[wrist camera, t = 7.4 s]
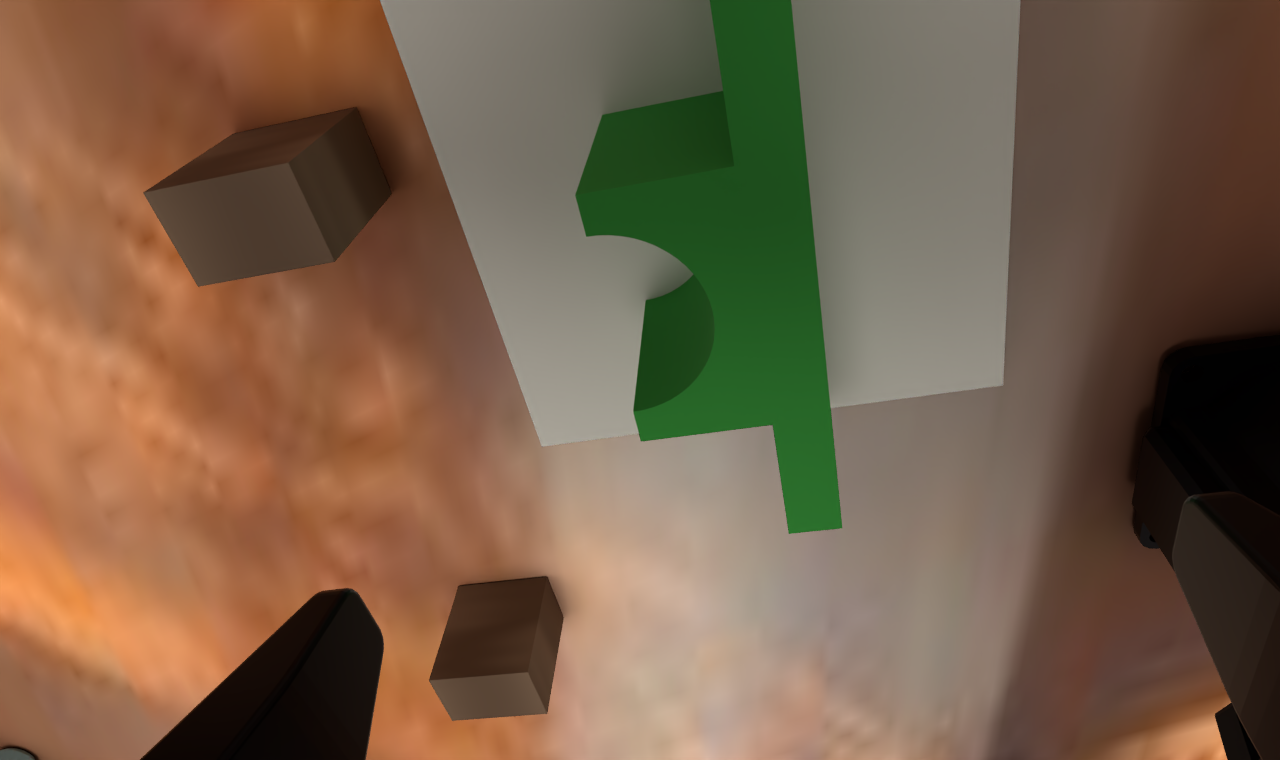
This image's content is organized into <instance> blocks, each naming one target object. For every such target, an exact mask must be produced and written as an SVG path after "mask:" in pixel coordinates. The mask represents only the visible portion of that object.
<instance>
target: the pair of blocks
mask: <svg viewBox="0 0 1280 760" xmlns="http://www.w3.org/2000/svg"><path fill="white" fill-rule="evenodd" d="M391 194H392V193H391V191H390V189H389V186H388V184H387V181H386V179H385V176H384V174H383V171H382V169H381V166H380V164H379V161H378V159H377V157H376V154H375V152H374V149H373V147H372V144H371V142H370V139H369V137H368V134H367V132H366V129H365V127H364V124H363V122H362V120H361V117H360V115H359V112H358V110H357V107H355V108H350V109H346V110H341V111H336V112H332V113H327V114H323V115H318V116H313V117H309V118H304V119H299V120H295V121H290V122H286V123H281V124H276V125H272V126H267V127H263V128H258V129H253V130H249V131H244V132H239V133H235V134H232V135H231V136H229V137H228V138H226V139H224V140H223V141H221V142H220V143H218V144H217V145H215V146H214V147H212V148H211V149H209V150H208V151H206V152H205V153H203V154H202V155H200V156H199V157H197V158H195V159H194V160H192V161H191V162H189V163H188V164H186V165H185V166H183V167H182V168H180V169H179V170H177V171H176V172H174V173H173V174H171V175H170V176H168V177H166V178H165V179H163V180H162V181H160V182H159V183H157V184H156V185H154V186H153V187H151V188H150V189H148V190H147V191H145V192H144V195H145V197H146V198H147V200H148V202H149V203H150V205H151V207H152V209H153V210H154V212H155V214H156V215H157V217H158V219H159V221H160V222H161V224H162V226H163V227H164V229H165V231H166V233H167V234H168V236H169V238H170V239H171V241H172V243H173V244H174V246H175V248H176V250H177V251H178V253H179V255H180V256H181V258H182V260H183V262H184V263H185V265H186V267H187V268H188V270H189V272H190V273H191V275H192V277H193V279H194V280H195V282H196V284H197V285H198V287H199V286H204V285H210V284H215V283H221V282H226V281H232V280H237V279H243V278H248V277H254V276H259V275H265V274H270V273H276V272H281V271H287V270H292V269H298V268H303V267H309V266H314V265H320V264H325V263H331V262H335V261H336V260H337V258H338V257H339V256H340V255H341V254H342V253H343V251H344V250H345V249H346V248H347V247H348V245H349V244H350V243H351V242H352V241H353V239H354V238H355V237H356V236H357V235H358V233H359V232H360V231H361V230H362V229H363V228H364V226H365V225H366V224H367V223H368V222H369V220H370V219H371V218H372V217H373V216H374V214H375V213H376V212H377V211H378V210H379V208H380V207H381V206H382V205H383V204H384V203H385V201H386V200H387V199H388V198H389V197H390V195H391ZM562 624H563V615H562V613H561V610H560V608H559V605H558V603H557V600H556V598H555V595H554V593H553V591H552V588H551V586H550V583H549V581H548V578H547V577H542V578H532V579H523V580H513V581H503V582H494V583H484V584H474V585H465V586H459V587H458V590H457V593H456V596H455V600H454V603H453V606H452V609H451V612H450V615H449V618H448V622H447V625H446V628H445V631H444V634H443V637H442V641H441V644H440V647H439V650H438V653H437V656H436V660H435V663H434V666H433V669H432V672H431V675H430V679H429V682H430V683H431V685H432V687H433V688H434V690H435V692H436V694H437V695H438V697H439V699H440V700H441V702H442V704H443V705H444V707H445V709H446V711H447V712H448V714H449V716H450V717H451V719H452V721H454V720H468V719H481V718H495V717H508V716H522V715H535V714H547V712H548V706H549V700H550V694H551V688H552V682H553V677H554V671H555V665H556V659H557V653H558V647H559V641H560V636H561V630H562Z"/></svg>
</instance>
